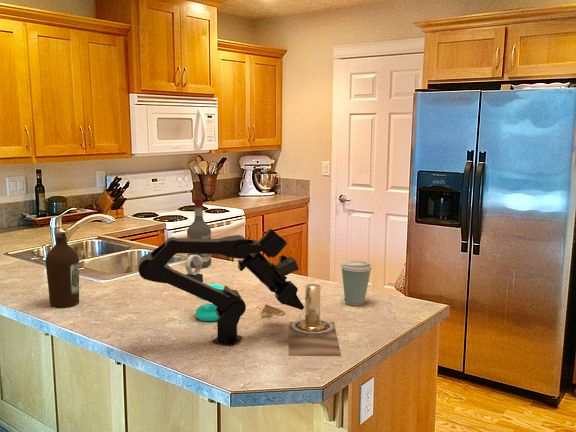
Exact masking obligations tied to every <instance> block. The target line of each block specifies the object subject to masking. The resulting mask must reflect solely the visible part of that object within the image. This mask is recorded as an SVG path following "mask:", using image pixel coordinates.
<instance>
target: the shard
mask: <svg viewBox="0 0 576 432" xmlns="http://www.w3.org/2000/svg"><path fill="white" fill-rule="evenodd" d="M261 310H262V311H261V314H260V318H261V319H270V318H272V317H273V316H278V317H282V316H284V315H285V314H286V311H283V310H281V309H279V308H278V307H275V306H271V305H268V304H264V306H263V308H262V309H261Z"/></svg>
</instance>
